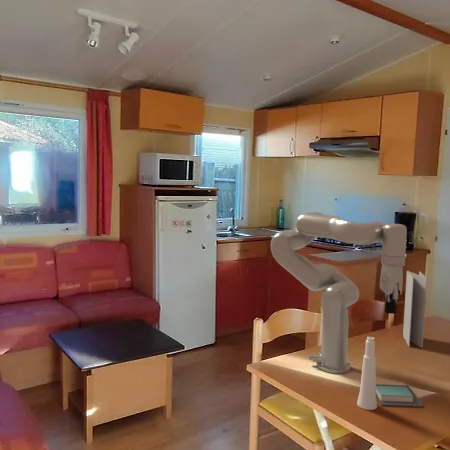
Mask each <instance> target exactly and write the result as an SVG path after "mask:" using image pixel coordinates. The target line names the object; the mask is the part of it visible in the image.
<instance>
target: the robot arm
mask: <svg viewBox="0 0 450 450" xmlns="http://www.w3.org/2000/svg"><path fill="white" fill-rule="evenodd" d="M407 230H408V229H407V226H406V225H405V224H400V223H386V222H382V221H377V220H375V221H374V220H373V221H368V222H355V221H347V220H343V219H341V217H340V216H337V215H331V214H330V215H329V214H323V213H322V212H318V211H311V212H304V213H302V214H300V215H298V217H297V218H296V220H295V228H293V229H287V230H281V231H278V232H277V233H275V234H274V235H273V236H272V238H271V240H270V250H271V251H270V252H271V254H272V257H273V259H275V261H276V262H277V264H278V265H280V266H281V267H282V268H283V269H284V270H286V271H287V272H288V273H290V274H291V276H293V277H294V278H295V279H296V280H298V281H299V282H300V283H301V284H302V285H303V286H304V287H306V288H307V289H308V290H309V291H313V292H319V291H322V293H321V296H320V297H321V298H320V302H321V313H322V316H321V317H322V318H321V319H322V321H321V349H320V350H321V351H319V354H308V356H307V357H308V358H307V359H308V360H309V361H310V360H311V361H312V362H313V363H316V367H317V368H318V369H319V370H321V371H324V372H327V373H331V374H345V373H348V372H350V371H351V369H352V366H351V364H350V362H348V346H349V345H348V344H349V323H350V321H349V314H348V307H350V306H351V305H353V304H355V303H356V302H357V301H358V300H359V297H360V290H359V287H358V286H357V285H356V283H355V282H353V281H352V280H351V279H350V278H348V277H347V276H346V275H345V274H343V273H342V272H341V271H340V270H339V269H337V268H336V267H335V266H333V265H331V264H329V263H320V264H315V263H313V262H312V261H311V260H309V259H308V258H307V257H306V256H304V255H302V254H300V253H298V252H297V251H298V250H301V249H303V248H305V247H306V246H308V245H309V244H310V243H311V242H312V241H314V240H315V239H316V238H322V239H323V238H324V239H331V240H334V241H338V242H342V243H344V244H345V243H347V244H353V245H359V246H360V245H361V246H369V245H373V244H378V243H382V245H381V247H382V248H381V264H380V265H382V266H381V271H380V280H379V289H380V290H381V291H382V292H383V293H384V294H385V295H384V297H385V298H384V299H385V301H384V302H385V303H384V312H385V313H386V314H388V315H389V314H392V315H394V314H396V311H397V310H396V309H397V300H398V299H399V296H401V295H402V294H403V284H404V283H403V281H404V280H403V279H404V275H403V271H404V270H403V267H404V266H406V264H405V263H406V249H407V248H406V247H407V235H408V233H407V232H408V231H407Z"/></svg>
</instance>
